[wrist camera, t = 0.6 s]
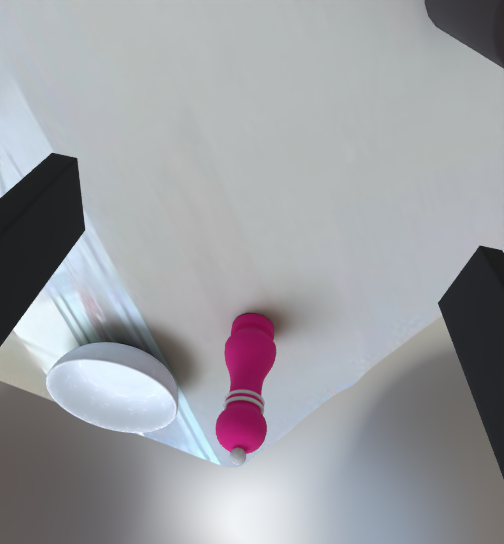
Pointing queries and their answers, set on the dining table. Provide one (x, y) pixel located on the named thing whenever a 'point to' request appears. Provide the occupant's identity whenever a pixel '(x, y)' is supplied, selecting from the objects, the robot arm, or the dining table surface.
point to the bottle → (472, 24)
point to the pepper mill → (246, 385)
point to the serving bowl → (114, 387)
